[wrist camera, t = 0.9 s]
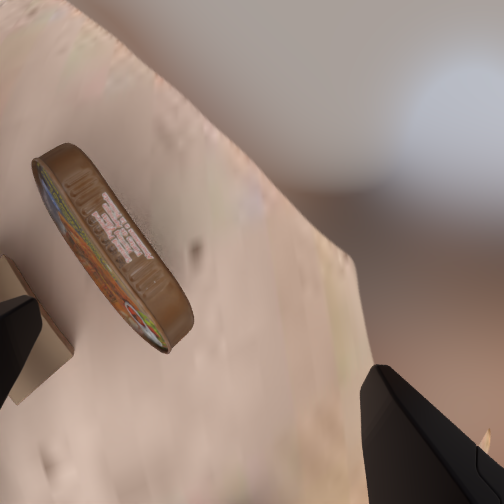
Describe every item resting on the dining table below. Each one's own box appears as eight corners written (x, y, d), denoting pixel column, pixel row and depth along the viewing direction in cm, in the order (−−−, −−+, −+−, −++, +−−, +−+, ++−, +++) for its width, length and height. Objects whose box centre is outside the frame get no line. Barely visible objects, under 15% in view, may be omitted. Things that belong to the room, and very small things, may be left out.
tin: (34, 190, 20) (18, 139, 13) (67, 168, 21) (66, 111, 14) (147, 348, 23) (179, 370, 16) (176, 322, 24) (221, 330, 17)
